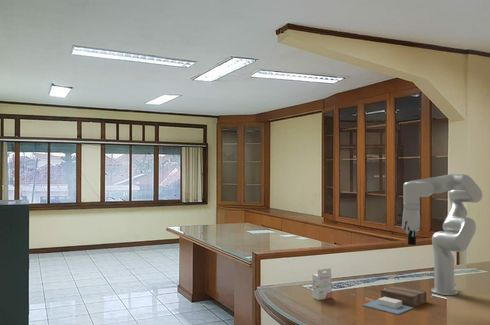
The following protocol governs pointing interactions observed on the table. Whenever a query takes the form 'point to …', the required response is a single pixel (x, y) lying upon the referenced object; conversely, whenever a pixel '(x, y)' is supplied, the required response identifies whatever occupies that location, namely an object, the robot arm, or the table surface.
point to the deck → (405, 295)
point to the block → (390, 302)
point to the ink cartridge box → (322, 284)
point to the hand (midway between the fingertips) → (412, 244)
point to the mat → (388, 308)
